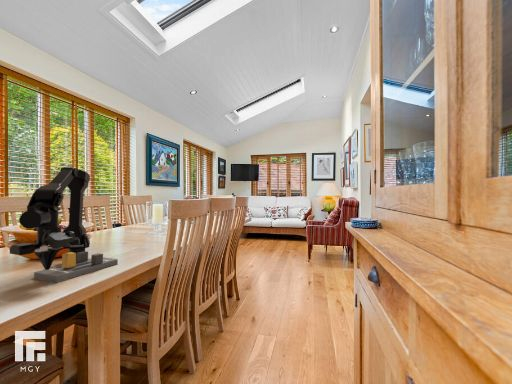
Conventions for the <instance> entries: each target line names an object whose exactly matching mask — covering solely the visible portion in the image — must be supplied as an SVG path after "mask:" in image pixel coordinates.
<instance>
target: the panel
mask: <svg viewBox="0 0 512 384" xmlns="http://www.w3.org/2000/svg"><path fill="white" fill-rule="evenodd" d="M90 256H91V257H89V252H88V251H86V250H85V251H83V252H78V253H77V262H76V266H74V267H70V268H63V267H62V264H61V265H57V266H54V267H50V269H48V270H45V269H42V270H37V271H35V272H33V277H34V279H38V280H42V281H47V282H52V283H59V282H63V281H66V280H69V279H73V278H76V277H79V276H82V275H85V274H89V273H93V272H96V271H99V270H102V269H106V268H109V267H113V266H115V265H118V264H119V263H118V258H112V257H104V253H94V254H91V255H90Z"/></svg>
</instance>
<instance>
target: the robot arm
mask: <svg viewBox="0 0 512 384" xmlns="http://www.w3.org/2000/svg"><path fill="white" fill-rule="evenodd" d="M90 181H91V175H90V173H88V172H87V171H85V170H81V169H78V167H74V166H70V167H69V166H63V167H61V168H60V171H59V172H58V173H57V174H56V175H55V177H54V178H53V179H52V180H51V181H50V182H49V183H48V184H45V185H41V186H39V187H38V188H36V189H35V190H34V191H33V193H32V195H31V197H30V199H29V201H28V204H27V206H26V211H24V212H22V214H21V215H20V217H19V220H18V221H19V224H20V226H21V227H23V228H25V229H30V230H32V229H34V232H36V239H34V243H28V242H23V243H17V244H12V245H11V246H10V247H9V254H10V255H16V256H24V255H30V254H35V256H36V257H37V258H38V259H39V261H40V263H41V265H42V267H43V268H44V270H48V269H50V268H52V265H53V262H54V260H55V259H56V255H57V254H58V253H59V252H60V251H63V250H67V253H69V252H73V253H76V262H77V253H78V252H83V251H85V252H86V249H88V248H90V245H91V244H90V243H91V241H90V238H89V237H88V234H87V229H86V228H85V227H84V225H83V212H84V195H85V194H84V193H85V191H86V189H87V188H89V183H90ZM66 188H68V190H69V191H70V195H69V212H68V214H69V215H68V225H67V226H66V228H64V229H63V230H62V227H61V226H59V211H61V208H60V206H61V203H62V202H63V200H64V191H65V190H66Z"/></svg>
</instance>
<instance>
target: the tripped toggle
mask: <svg viewBox="0 0 512 384" xmlns="http://www.w3.org/2000/svg"><path fill="white" fill-rule="evenodd" d="M61 257H62V258H61V265H62V267H63V268H70V267H74V266H76V253H73V252H69V253H68V252H65V253H62V255H61Z"/></svg>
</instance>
